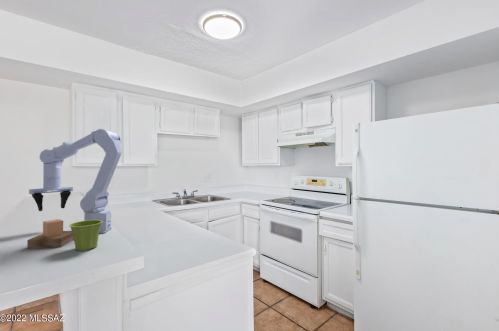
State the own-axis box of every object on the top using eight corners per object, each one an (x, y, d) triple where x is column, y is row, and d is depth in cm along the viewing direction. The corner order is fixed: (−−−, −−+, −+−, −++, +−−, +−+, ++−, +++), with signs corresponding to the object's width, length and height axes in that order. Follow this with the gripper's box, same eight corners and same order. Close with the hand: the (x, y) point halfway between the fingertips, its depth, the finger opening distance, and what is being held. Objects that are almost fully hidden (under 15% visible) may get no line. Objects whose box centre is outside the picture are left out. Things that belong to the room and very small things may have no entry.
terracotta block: (58, 232, 88) (58, 219, 88) (63, 234, 86) (63, 220, 86) (43, 235, 84) (43, 221, 84) (47, 237, 82) (47, 223, 82)
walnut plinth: (75, 238, 91) (75, 230, 91) (61, 246, 81) (61, 238, 81) (46, 239, 89) (46, 231, 89) (27, 248, 79) (27, 240, 79)
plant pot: (65, 255, 74) (66, 227, 74) (72, 245, 82) (72, 221, 82) (100, 250, 78) (100, 224, 78) (103, 242, 86) (103, 218, 86)
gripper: (68, 177, 109) (68, 206, 108) (26, 178, 96) (26, 211, 96) (74, 177, 105) (74, 207, 105) (32, 178, 92) (32, 213, 92)
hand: (51, 209), depth 100 cm, fingers open, 7 cm apart
